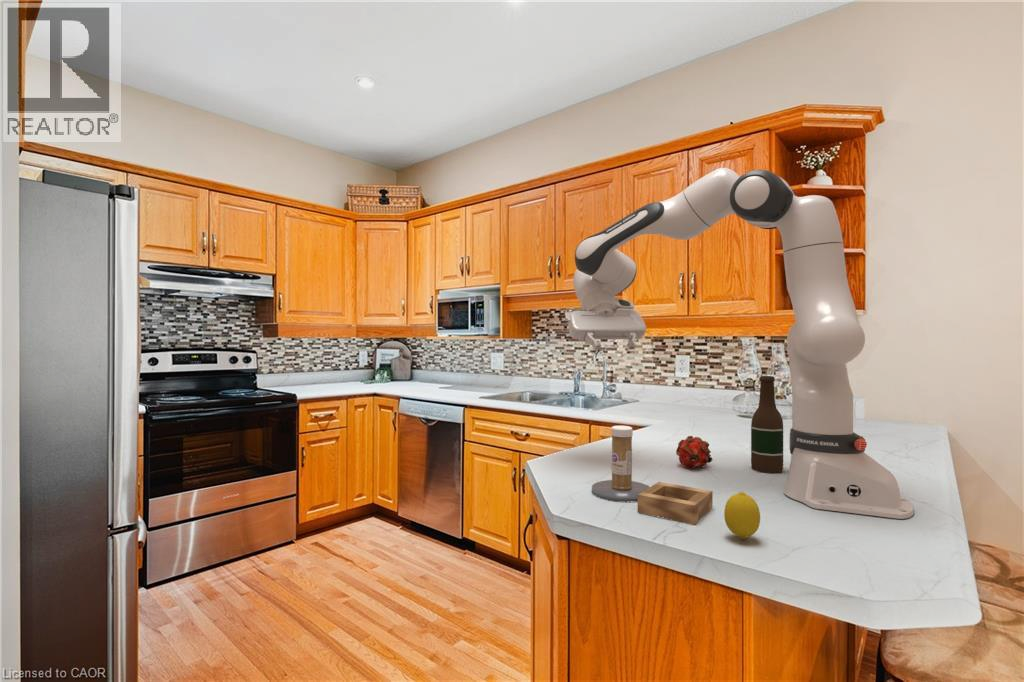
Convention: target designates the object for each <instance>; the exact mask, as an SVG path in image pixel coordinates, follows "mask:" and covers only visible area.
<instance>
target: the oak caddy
mask: <svg viewBox="0 0 1024 682" xmlns="http://www.w3.org/2000/svg"><path fill="white" fill-rule="evenodd" d="M713 492H714V491H713V490H708V489H703V488H696V487H691V486H685V485H681V484H680V485H679V484H673V483H668V482H663V481H657V482H656V483H654V484H653V485H651V486H649V488H648V489H646V490H644V491H643V492H641V493H639V494H638V502H637V513H638V512H641V513H640V514H642V513H645V514H644V515H647V514H649V515H648V516H652V515H654V516H653V517H656V516H659V517H658V518H661V517H664V518H663V519H665V518H667V519H666V520H670V519H672V521H675V520H676V521H675V522H679V523H684V522H685V523H684V524H689V525H693V524H694V525H696V524H697V523H698V522H699V520H700V519H701V518H702V517H703V516H704V515H705V514H706V513H707V514H709V513H710V512H711V511H712V510H711V509H712V508H713V500H714V499H713V498H714V497H713ZM707 514H706V515H707ZM706 515H705V516H706ZM705 516H704V517H705ZM704 517H703V518H704ZM703 518H702V519H703ZM700 521H701V520H700Z"/></svg>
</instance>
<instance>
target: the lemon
mask: <svg viewBox="0 0 1024 682" xmlns="http://www.w3.org/2000/svg"><path fill="white" fill-rule="evenodd" d="M723 511H724V514H723V516H724V522H725V525H726V526H727V528H728V530H729V531H730V532H731V533H733V534H734V535H736V536H737V537H738V538H739V539H740V540H745V539H746V538H747V537H751V536H752V535H754V534H756V532H758V530H759V527H760V523H761V512H760V508H759V505H758V503H757V502H756V501H755V499H754V498H753V497H752V496H750V495H748V494H746V493H745V492H744V491H740V492H738V493H736V494H735V493H734V494H732V495H731V496H730V497H729V498H728V499H727V500H726V503H725V507H724V510H723Z"/></svg>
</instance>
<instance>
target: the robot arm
mask: <svg viewBox="0 0 1024 682" xmlns="http://www.w3.org/2000/svg"><path fill="white" fill-rule="evenodd" d="M731 215H736V216H737V217H739V218H740V219H742V220H744V221H745V222H746V223H748V224H749V225H751V226H754V227H757V228H759V229H764V230H774V229H777V230H778V231H779V234H780V237H781V243H782V251H783V252H782V253H783V254H782V255H783V262H784V263H783V264H784V271H785V272H784V273H785V280H786V281H785V283H786V289H787V293H788V295H789V298H790V302H791V305H792V309H793V310H792V311H793V314H794V319H795V322H794V323H793V324H792V325H791V326H790V328H789V330H788V332H787V337H786V341H787V342H786V343H787V354H788V364H789V374H790V382H791V390H792V391H791V393H792V395H791V396H792V408H791V409H792V418H791V419H792V427H791V428H790V429H789V430H790V431H789V438H788V439H789V442H788V443H789V451H790V452H789V453H790V455H791V456H790V463H789V464H790V465H789V471H788V476H787V480H786V483H785V486H784V490H783V494H784V495H786V496H787V497H788V498H791V499H792V500H795V501H798V502H801V503H803V504H805V505H806V506H808V507H810V508H813V509H817V510H825V511H834V512H840V513H841V512H842V513H848V514H850V513H851V514H857V515H865V516H873V517H874V516H875V517H879V518H881V517H882V518H889V519H898V520H903V519H908V518H911V517H912V516H913V515H914V514H915V508H914V504H913V502H912V501H910V500H909V499H907V498H906V497H904V496H901V492H900V487H899V484H898V481H897V479H896V477H895V476H894V474H893V473H892V472H891V471H890V470H888V468H886V467H885V466H883V465H882V464H880V463H879V462H878V461H876V460H875V459H874V458H872V457H871V456H870V455H868V454H867V453H866V452H865V451H866V448H867V446H868V443H867V441H866V439H865V438H864V436H863V435H861V436H860V434H857V433H856V432H854V394H853V390H852V388H851V384H850V380H849V374H848V368H847V364H849V362H852V361H853V360H854V359H855V358H857V357H858V356H859V355H860V354H861V353H862V351H863V349H864V347H865V343H866V335H865V332H864V330H863V328H862V325H861V324H860V321H859V317H858V313H857V309H856V306H855V303H854V299H853V296H852V293H851V290H850V286H849V281H848V276H847V266H846V258H845V248H844V241H843V234H842V229H841V224H840V221H839V216H838V213H837V210H836V208H835V205H834V202H833V201H832V200H831V199H830V198H828V197H826V196H823V195H816V194H811V195H805V196H797V193H796V192H795V191H794V189H793V188H792V187H791V186H790V184H789V183H788V182H787V181H786V180H785V179H783V178H782V177H781V176H778V174H776V173H774V172H772V171H770V170H766V169H754V170H751V171H748V172H745V173H744V174H742V175H741V176H740V175H739V174H738V173H737V172H736V171H734V170H732V169H730V168H728V167H719V168H717V169H714V170H712V171H711V172H709V173H707V174H706V175H703V176H702V177H700V178H699V179H697V180H696V181H694V182H692V183H691V184H690V185H688V186H687V187H686V188H684V189H683V190H682V191H681V192H679V193H678V194H676V195H674V196H672V197H670V198H668V199H665V200H661V201H656V202H655V201H653V202H650V203H648V204H647V203H646V204H645V205H643V206H641V207H639V208H638V209H636V210H634V211H632V212H631V213H629V214H628V215H626V216H624V217H623V218H621V219H620V220H618V221H616V222H615V223H613V224H612V225H609V226H608V227H606V228H605V229H602V231H599V232H597V233H595V234H592V235H589V236H587V237H585V238H584V239H583V240H581V241H580V242H579V244H578V245H576V248H575V251H574V263H575V266H576V270H575V272H574V274H573V281H572V282H573V283H572V284H573V287H574V292H575V295H576V298H577V300H578V301H579V303H580V308H581V309H568V310H567V311H565V312H564V318H565V320H566V322H567V325H568V326H567V328H568V332H569V336H570V337H571V338H572V339H574V340H585V342H586V343H587V344H589V345H590V346H591V347H592V350H593V351H597V350H601V347H602V344H601V342H600V340H628V341H627V344H626V347H627V349H628V350H631V351H632V350H633V351H634V350H635V349H636V347H637V344H636V340H641V339H642V338H644V336H645V333H646V332H647V326H646V323H645V321H644V319H643V317H642V316H641V314H640V313H639V312H638V311H637V310H635V309H634V308H635V304H634V302H632V301H629V300H625V299H621V298H619V297H617V296H618V295H619V294H621V293H622V292H624V291H625V290H627V289H628V288H629V287H630V286H631V285H632V284H633V283H634V281H635V279H636V276H637V270H638V269H637V263H636V261H635V260H633V259H632V258H631V257H629V256H628V255H627V254H625V253H623V252H622V251H621V250H619V248H620V247H622V246H624V245H625V244H627V243H628V242H630V241H632V240H634V239H636V238H638V237H639V236H642V235H650V234H651V235H659V236H664V237H667V238H671V239H674V240H681V241H686V240H688V241H689V240H691V239H693V238H695V237H697V236H699V235H701V234H703V233H704V232H706V231H707V230H708V229H710V228H711V227H712V226H714V225H716V224H717V223H718V222H719V221H721V220H723V219H725V218H726V217H728V216H731Z"/></svg>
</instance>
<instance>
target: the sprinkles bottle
mask: <svg viewBox="0 0 1024 682" xmlns="http://www.w3.org/2000/svg"><path fill="white" fill-rule="evenodd" d="M610 429H611V430H610V435H611V439H612V440H611V480H612V484H611V486H612V488H614V489H616V490H629V489H631V488H632V481H633V480H632V479H633V478H632V477H633V476H632V474H633V449H632V447H633V446H632V445H633V444H632V442H633V440H632V439H633V427H632V426H629V425H613V426H611V428H610Z"/></svg>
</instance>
